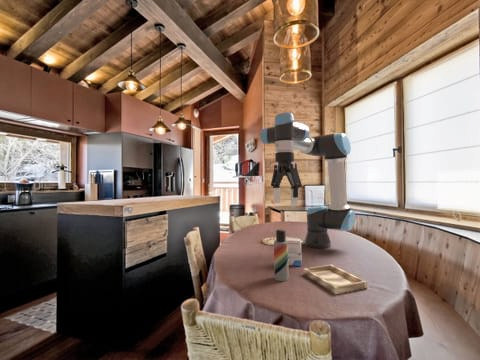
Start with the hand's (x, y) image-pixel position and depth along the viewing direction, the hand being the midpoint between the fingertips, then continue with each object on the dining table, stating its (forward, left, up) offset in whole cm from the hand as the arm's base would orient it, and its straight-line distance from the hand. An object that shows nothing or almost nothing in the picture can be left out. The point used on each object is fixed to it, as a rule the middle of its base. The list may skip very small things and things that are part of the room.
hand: (285, 204), depth 103 cm
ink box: (-15, +11, -30) cm, 35 cm away
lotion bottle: (-1, -2, -30) cm, 30 cm away
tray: (+8, +16, -30) cm, 35 cm away
